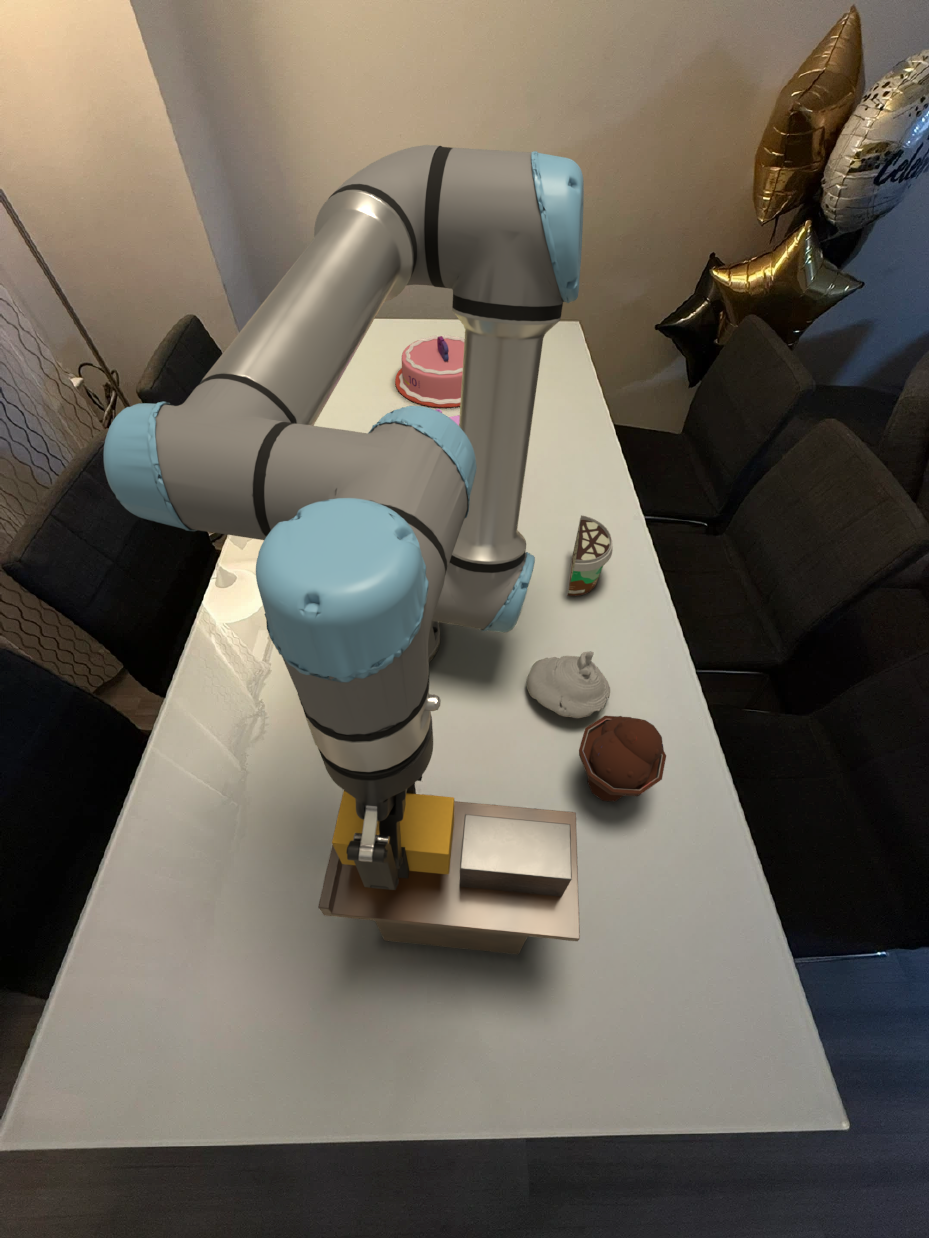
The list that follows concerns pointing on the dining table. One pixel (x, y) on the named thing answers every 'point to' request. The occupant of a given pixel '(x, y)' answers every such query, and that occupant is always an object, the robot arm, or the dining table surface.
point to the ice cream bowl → (621, 756)
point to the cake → (432, 371)
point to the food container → (588, 556)
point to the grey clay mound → (569, 685)
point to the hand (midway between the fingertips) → (399, 841)
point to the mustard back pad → (407, 831)
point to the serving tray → (476, 885)
